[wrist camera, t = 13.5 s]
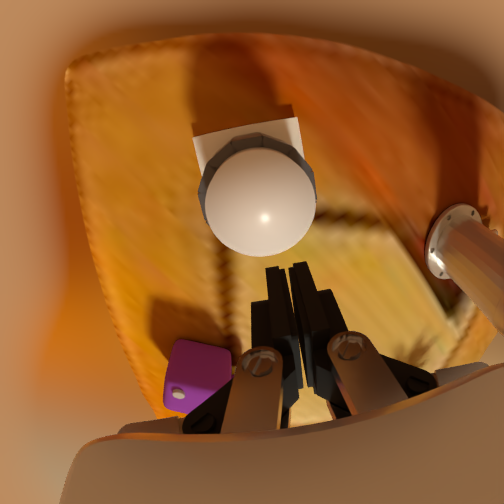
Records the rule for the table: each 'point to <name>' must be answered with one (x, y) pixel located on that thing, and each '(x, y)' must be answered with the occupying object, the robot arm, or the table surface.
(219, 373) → the toy camera
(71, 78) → the table surface
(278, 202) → the glossy white sphere
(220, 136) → the lens barrel
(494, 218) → the table surface
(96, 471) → the robot arm
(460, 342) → the table surface
